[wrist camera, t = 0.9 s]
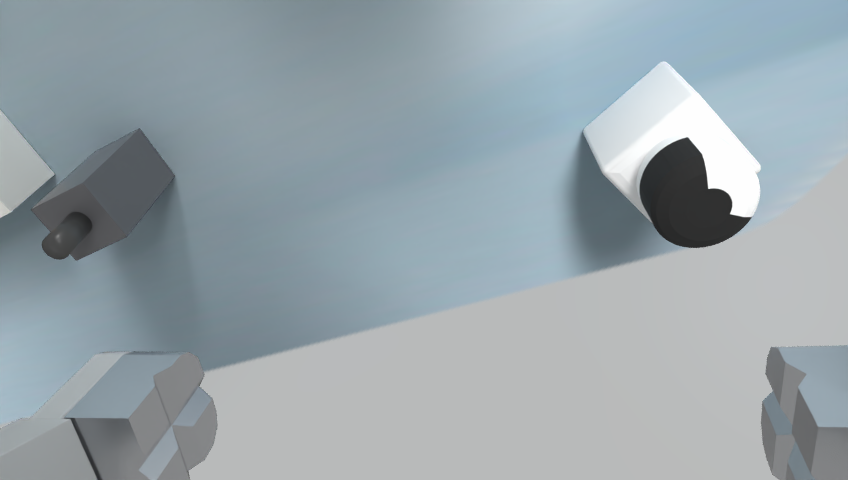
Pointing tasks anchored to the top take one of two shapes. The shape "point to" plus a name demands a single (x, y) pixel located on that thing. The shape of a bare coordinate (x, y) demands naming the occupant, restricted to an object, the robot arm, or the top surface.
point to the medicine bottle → (676, 160)
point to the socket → (18, 168)
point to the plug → (103, 197)
